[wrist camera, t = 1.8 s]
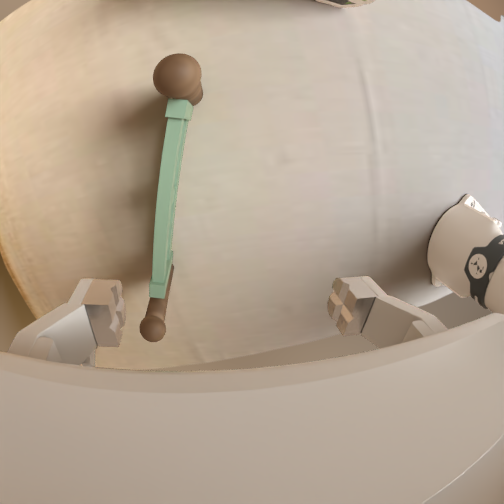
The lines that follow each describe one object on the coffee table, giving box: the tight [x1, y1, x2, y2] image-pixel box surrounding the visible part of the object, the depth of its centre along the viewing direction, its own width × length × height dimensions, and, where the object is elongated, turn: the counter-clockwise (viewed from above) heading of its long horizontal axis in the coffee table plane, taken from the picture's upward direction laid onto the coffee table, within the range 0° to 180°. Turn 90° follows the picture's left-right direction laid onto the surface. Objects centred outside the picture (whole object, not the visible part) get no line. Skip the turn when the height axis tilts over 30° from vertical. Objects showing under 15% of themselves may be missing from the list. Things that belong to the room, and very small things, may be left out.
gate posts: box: [140, 54, 203, 342], centre depth 25 cm, size 3×25×14 cm, turn 169°
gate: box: [149, 98, 193, 299], centre depth 27 cm, size 2×19×8 cm, turn 168°
